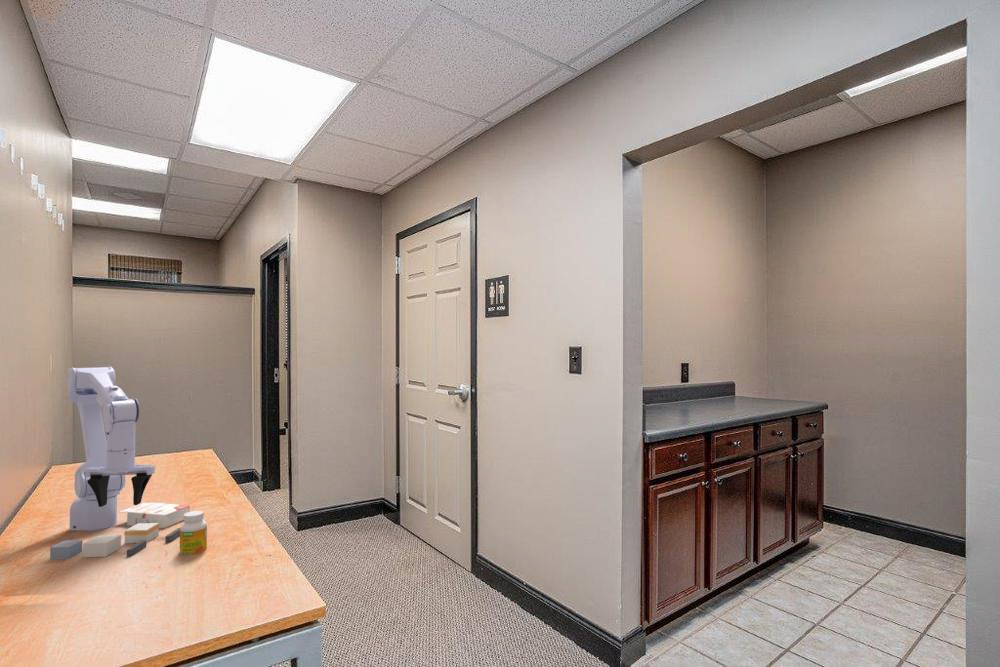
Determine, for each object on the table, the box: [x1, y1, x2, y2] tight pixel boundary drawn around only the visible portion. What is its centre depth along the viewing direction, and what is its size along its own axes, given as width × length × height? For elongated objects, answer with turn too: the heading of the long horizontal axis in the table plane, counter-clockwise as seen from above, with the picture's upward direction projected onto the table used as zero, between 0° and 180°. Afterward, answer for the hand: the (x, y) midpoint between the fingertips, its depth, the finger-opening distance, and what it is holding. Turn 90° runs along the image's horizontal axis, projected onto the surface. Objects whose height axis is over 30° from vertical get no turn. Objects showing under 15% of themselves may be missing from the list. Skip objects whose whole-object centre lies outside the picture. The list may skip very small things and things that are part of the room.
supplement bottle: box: [179, 510, 208, 556], centre depth 121 cm, size 5×5×10 cm
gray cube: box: [49, 539, 83, 560], centre depth 118 cm, size 4×4×4 cm
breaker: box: [123, 523, 160, 544], centre depth 127 cm, size 5×5×3 cm
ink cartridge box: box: [119, 502, 190, 529], centre depth 141 cm, size 9×5×15 cm
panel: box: [124, 527, 180, 558], centre depth 124 cm, size 16×16×3 cm
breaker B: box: [82, 534, 122, 558], centre depth 119 cm, size 5×5×3 cm
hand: (120, 504), depth 128 cm, fingers open, 7 cm apart
